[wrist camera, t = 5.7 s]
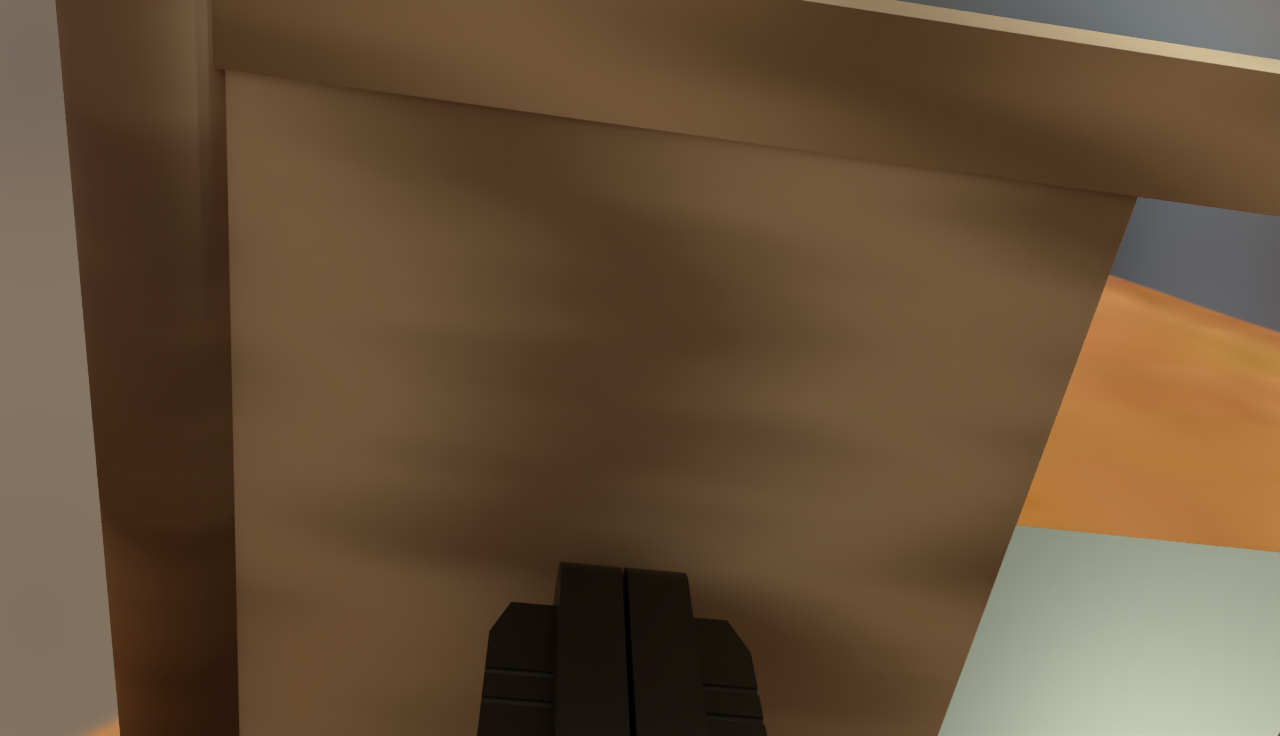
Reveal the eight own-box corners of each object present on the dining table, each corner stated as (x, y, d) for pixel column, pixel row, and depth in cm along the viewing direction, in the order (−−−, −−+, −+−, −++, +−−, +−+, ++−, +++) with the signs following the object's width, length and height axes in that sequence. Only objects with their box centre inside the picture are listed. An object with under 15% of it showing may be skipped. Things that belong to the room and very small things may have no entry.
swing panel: (1129, 897, 19) (1578, 46, 12) (1181, 999, 17) (1728, 81, 11) (160, 834, 17) (88, -196, 10) (115, 941, 15) (-2, -197, 9)
